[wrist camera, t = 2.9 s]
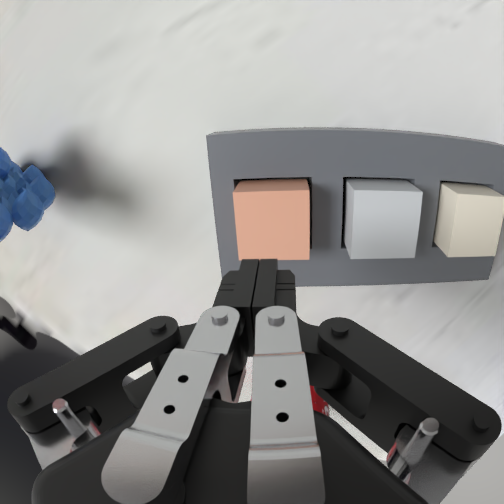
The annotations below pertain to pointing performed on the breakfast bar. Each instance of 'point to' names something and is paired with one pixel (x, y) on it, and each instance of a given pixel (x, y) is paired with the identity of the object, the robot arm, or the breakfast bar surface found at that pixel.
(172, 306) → the breakfast bar surface
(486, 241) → the key beige
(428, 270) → the keypad
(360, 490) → the robot arm
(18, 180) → the grapes
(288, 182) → the key terracotta
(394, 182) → the key grey
